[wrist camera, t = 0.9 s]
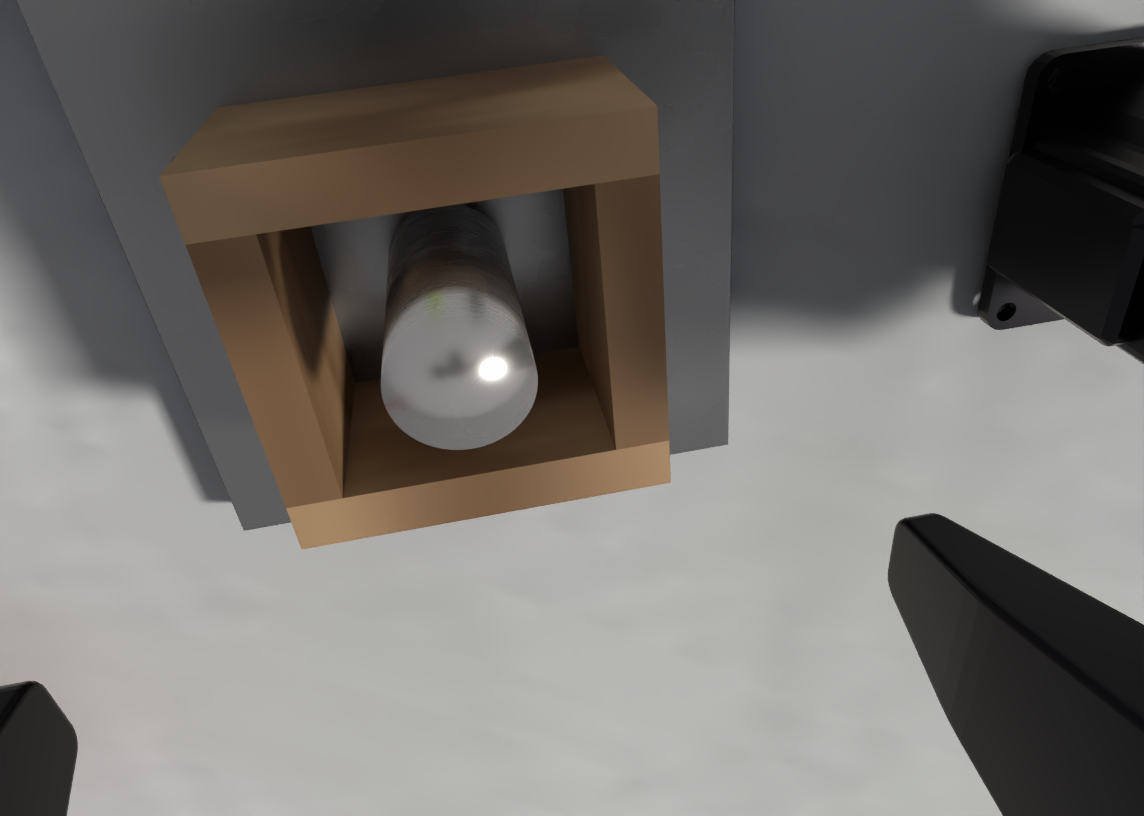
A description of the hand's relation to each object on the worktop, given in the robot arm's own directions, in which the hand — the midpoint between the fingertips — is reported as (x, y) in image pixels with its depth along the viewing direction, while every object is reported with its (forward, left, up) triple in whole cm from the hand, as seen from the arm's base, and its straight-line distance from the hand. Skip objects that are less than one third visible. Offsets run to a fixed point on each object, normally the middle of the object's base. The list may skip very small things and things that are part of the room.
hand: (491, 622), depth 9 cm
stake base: (0, 0, -11) cm, 11 cm away
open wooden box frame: (0, 0, -10) cm, 10 cm away
